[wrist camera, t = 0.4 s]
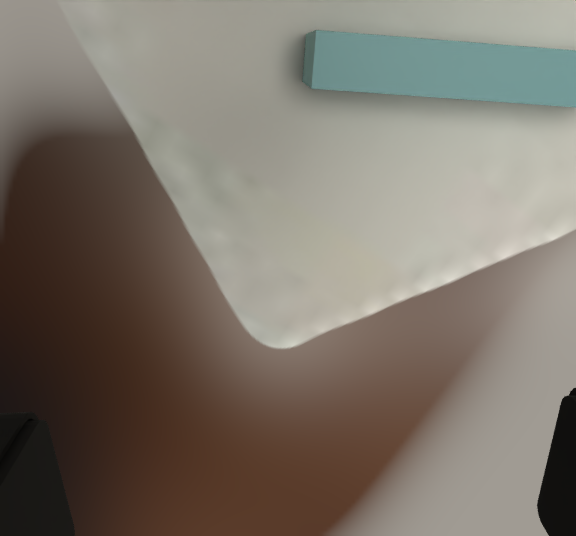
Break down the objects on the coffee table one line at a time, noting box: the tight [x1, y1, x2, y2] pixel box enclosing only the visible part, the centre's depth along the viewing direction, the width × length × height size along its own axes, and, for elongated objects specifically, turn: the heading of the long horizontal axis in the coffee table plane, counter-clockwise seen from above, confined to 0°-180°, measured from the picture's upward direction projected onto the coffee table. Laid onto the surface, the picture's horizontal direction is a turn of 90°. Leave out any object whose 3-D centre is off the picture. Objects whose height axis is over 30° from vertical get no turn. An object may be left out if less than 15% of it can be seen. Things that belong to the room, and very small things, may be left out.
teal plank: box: [302, 30, 576, 107], centre depth 32 cm, size 3×20×7 cm, turn 86°
